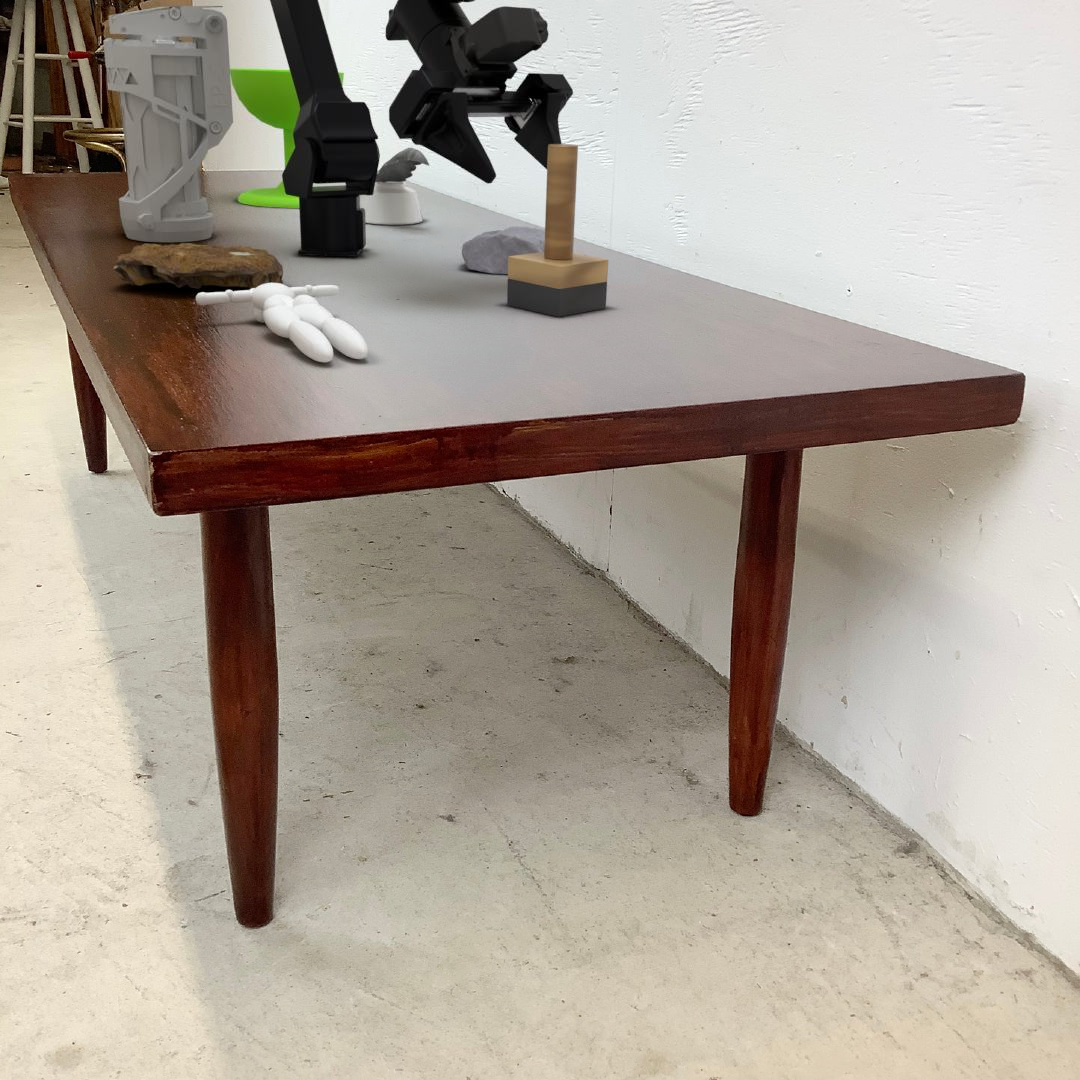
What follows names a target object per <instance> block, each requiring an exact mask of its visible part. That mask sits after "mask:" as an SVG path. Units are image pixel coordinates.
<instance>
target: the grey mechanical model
mask: <svg viewBox="0 0 1080 1080" xmlns="http://www.w3.org/2000/svg"><path fill="white" fill-rule="evenodd" d="M213 8H223V5H177V6H176V5H175V6H173V5H172V6H159V7H152V8H146V9H141V10H135V11H129V12H122V13H116V14H111V15H110V14H109V15H108V26H109V34H110V35H126V37H123V38H112V37H106V38H105V39H104V40H103V51H104V63H105V68H106V80H107V90H108V91H114V92H117V93H119V97H120V108H121V109H120V110H121V118H122V119H121V120H122V130H123V139H124V150H125V160H126V174H127V182H128V190H127V192H126V193H125V194H124V195H123V196H121V197H119V198H118V204H119V214H120V220H121V224H122V228H123V231H124V234H125V236H126V238H127V239H129V240H133V241H139V242H148V243H149V242H150V243H191V242H198V241H204V240H208V239H210V238H211V237H212V234H213V229H214V217H215V216H214V213H212V212H209V207H208V198H207V197H204V196H202V195H203V194H202V182H201V168H200V167H201V165H202V163H203V162H204V160H205V158H206V156H207V154H208V152H209V150H211V149H213V148H215V147H217V146H219V144H220V143H221V142H222V140H224V137H225V136H226V134H227V133H228V132H229V130H230V128H232V125H233V124H234V114H233V113H234V112H233V97H232V95H233V94H232V80H231V75H230V69H231V64H230V48H229V33H228V30H229V29H228V19H227V17H226V16H225V14H224V13H223V12H221V11H219V10H215V9H213ZM180 38H190V39H193V41H185V40H181V39H180Z"/></svg>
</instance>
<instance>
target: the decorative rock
mask: <svg viewBox="0 0 1080 1080" xmlns="http://www.w3.org/2000/svg"><path fill="white" fill-rule="evenodd" d="M115 264H116V265H114V266H113V270H114V271H115V272H116V273H117V275H118V279H119V280H122V281H124V282H127V283H129V285H130V286H133V287H134V286H145V285H155V284H157V285H158V284H162V283H163V284H172V285H174V286H175V287H177V288H182V287H183V286H188V287H189V288H192V289H198V290H200V289H201V287H202V286H205V287H206V286H215V287H224V288H225V287H239V288H247V289H249V290H250V289H251V288H256V287H258V286H260V285H262V284H266V283H280V284H284V281H283V276H284V269H283V268H284V267H283V264H282V263H280V261H279V260H278V259H277V256H275V255H273V254H270V253H268V250H267V249H259V248H257V249H256V248H253V247H251V246H242V245H238V246H236V245H230V246H225V247H224V246H219V245H216V244H214V243H213V244H210V245H208V244H194V243H191V242H180V243H179V244H175V243H171V244H164V245H160V244H156V243H146V242H145V243H143V244H142V245H134V246H133V248H132V250H131V251H130V252H129V253H123V254H120V255H118V256H116V262H115Z"/></svg>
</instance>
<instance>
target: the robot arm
mask: <svg viewBox="0 0 1080 1080" xmlns="http://www.w3.org/2000/svg"><path fill="white" fill-rule="evenodd" d="M475 1H476V0H397V1H396V3H395V5H394V7H393V8H391V9H389V10H388V20H387V23H386V26H385V39H386V40H387V41H391V42H393V41H395V42H397V41H408V43H409V45H410V46H411V48H412V50H413V51H414V53H415V54H416V56H417V58H418V60H419V61H420V63H421V65H420V68H419V69H412V70H411V71H410V73H409V75H408V76H407V78H406V80H405V81H404V83H403V85H402V86H401V88H400V89H399V91H398V93H397V94H396V95H395V98H394V99H393V101H392V102H391V103H390V106H389V108H388V121H389V123H390V125H391V127H392V128H393V130H394V132H395V134H396V136H397V137H398V139H399V140H411V142H412V143H413V144H414V145H416V146H422V147H424V148H426V149H428V150H429V151H431V152H433V153H435V154H437V155H438V156H440V157H442V158H443V159H446V160H448V161H449V162H451V163H453V164H455V165H456V166H458V167H460V168H461V169H463V170H464V171H466V172H467V173H469V174H471V175H472V176H474V177H476V178H477V179H479V180H480V181H481V182H484V183H485V184H487V185H488V184H489V185H490V184H492V183H493V182H494V181H495V179H496V178H497V174H496V170H495V168H494V165H493V164H492V161H491V159H490V157H489V155H488V154H487V151H486V150H485V147H484V146H483V143H482V142H481V141H480V139H479V137H478V135H477V133H476V131H475V129H474V127H473V125H472V123H471V121H470V119H469V118H504V119H503V121H504V123H505V124H506V126H507V128H508V130H509V131H511V132H513V134H515V136H514V137H513V139H514V141H515V142H516V143H517V144H518V145H519V146H521V147H522V148H523V149H524V150H525V151H526V152H527V153H528V154H529V155H531V156H532V158H534V160H536V161H537V162H538V163H539V164H540V165H541V166H542V167H543V168H544V169H545V170H547V161H548V145H549V144H563V143H562V140H561V134H560V124H559V118H560V117H559V116H560V113H561V111H562V110H563V109H564V108H565V107H566V105H567V104H568V103H567V102H568V101H569V100H570V98H571V97H572V96H573V95H574V91H573V88H572V86H571V85H570V83H569V81H568V79H567V78H566V77H565V75H564V74H563V73H541V72H540V73H537V72H528V73H527V75H526V76H525V78H524V79H523V80H522V81H521V83H520V85H519V86H518V87H517V88H516V90H507V83H506V82H507V81H508V80H511V79H513V77H514V76H515V75H516V73H517V72H518V70H519V68H518V67H517V65H516V64H515V62H518V61H519V60H521V59H522V58H523V57H525V56H527V55H528V54H529V53H531V52H533V51H534V52H536V51H538V50H540V49H541V48H542V46H543V44H545V43H547V41H548V38H549V30H548V26H549V25H548V22H547V20H545V19H544V18H543V17H542V15H541V13H540V11H537V9H536V8H535V7H534V8H533V7H517V6H508V5H504V6H497V7H495V8H494V9H492V10H490V11H489V12H487V13H486V14H484V16H482V17H480V19H478V20H476V21H475V22H474V23H471V21H470V20H469V18H468V16H467V15H466V13H465V11H464V10H463V9H462V6H461V5H460V4H461V3H472V2H475ZM269 2H270V5H271V10H272V13H273V16H274V20H275V24H276V26H277V27H276V28H277V30H278V33H279V38H280V41H281V44H282V47H283V51H284V54H285V55H284V56H285V58H286V62H287V66H288V68H289V69H288V70H290V72H291V76H292V80H293V83H294V87H295V90H296V94H297V97H298V101H299V105H300V111H299V114H298V118H297V121H296V125H295V128H294V131H293V138H294V144H295V149H294V151H293V153H292V155H291V157H290V159H289V161H288V163H287V165H286V167H285V166H284V169H283V171H282V173H281V180H283V184H284V189H285V193H286V195H291V196H296V197H299V208H298V209H299V228H300V230H299V231H300V248H299V249H298V250H297V254H298V255H300V256H301V255H302V256H327V257H330V256H331V257H332V256H333V257H335V256H336V257H358V256H359V255H360V254H361V252H362V251H363V250H364V248H365V247H366V245H367V229H366V227H367V226H366V225H367V223H365V209H364V208H360V195H368V196H371V195H373V192H374V187H375V181H376V176H377V172H378V171H379V164H380V158H381V153H380V149H379V145H378V142H377V140H378V139H379V136H378V134H377V132H376V130H375V127H374V125H373V121H372V117H371V110H370V109H369V107H368V105H367V104H366V102H365V101H352V100H351V99H350V97H348V95H346V92H345V89H344V87H343V86H344V85H343V86H342V83H341V79H340V76H339V72H340V71H339V69H338V65H337V63H336V59H335V55H334V52H333V47H332V46H331V41H330V38H329V34H328V31H327V27H326V23H325V20H324V16H323V13H322V9H321V5H320V2H319V0H269ZM314 184H316V185H319V186H314ZM322 184H323V185H322ZM324 184H339V185H324ZM340 184H344V185H340Z"/></svg>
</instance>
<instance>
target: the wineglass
mask: <svg viewBox="0 0 1080 1080" xmlns="http://www.w3.org/2000/svg"><path fill="white" fill-rule="evenodd" d="M338 72H339V76H340V79H341V83H342V86H344V75H345V72H342V71H341V72H340V71H338ZM230 79H231V86H232V87H233V89H234V91H235V93H236V96H237V98H238V100H239V102H241V104H242V105H243V107H244V108H245V109H246V110H247V112H248V113H249V114H251V115H252V116H253V117H255V118H256V119H257V120H258V121H260V122H261V123H264V124H266V125H268V126H270V127H272V128H275V129H279V130H282V132H283V134H282V135H283V154H284V155H283V156H284V168H285V167H286V165H287V163H288V161H289V159H290V157H291V155H292V153H293V151H294V149H295V144H294V138H293V131H294V128H295V125H296V121H297V118H298V114H299V111H300V105H299V101H298V97H297V94H296V90H295V87H294V83H293V80H292V76H291V72H290V69H273V68H271V69H270V68H230ZM237 202H238V203H240V204H244V205H249V206H254V207H255V206H256V207H265V208H281V209H288V208H289V209H299V197H296V196H291V195H286V193H285V189H284V184H283V179H281V182H280V183H279V184H278V185H277V186H276V187H267V188H264V187H263V188H255V189H249V190H245V191H243V192H242V193H241V194H240V195H239V196H238V198H237Z"/></svg>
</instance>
